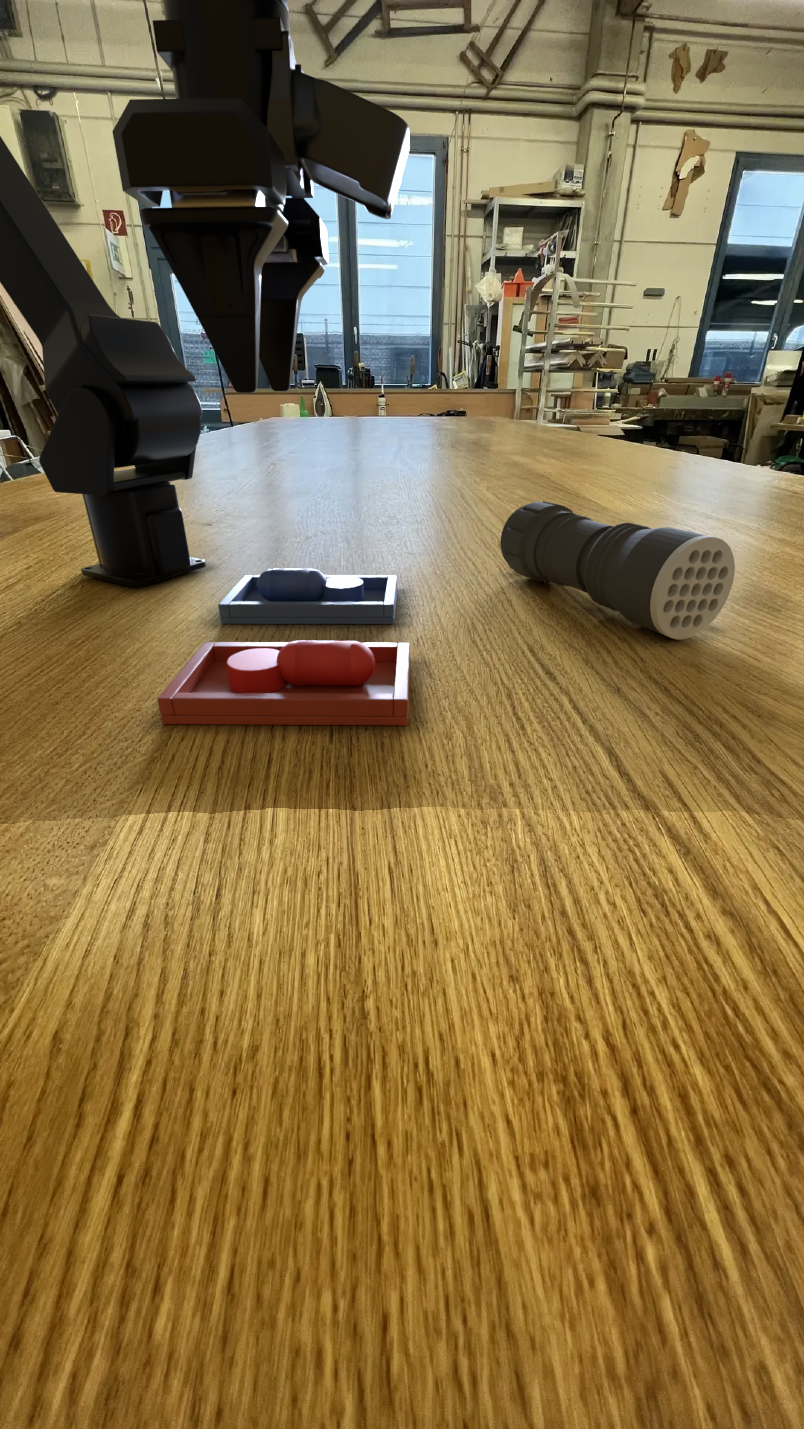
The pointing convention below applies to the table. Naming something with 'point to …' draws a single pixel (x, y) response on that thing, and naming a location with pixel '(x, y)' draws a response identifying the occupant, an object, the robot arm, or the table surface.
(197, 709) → the red tray
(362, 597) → the blue capsule with disc
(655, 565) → the flashlight
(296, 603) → the blue tray
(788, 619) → the table surface
